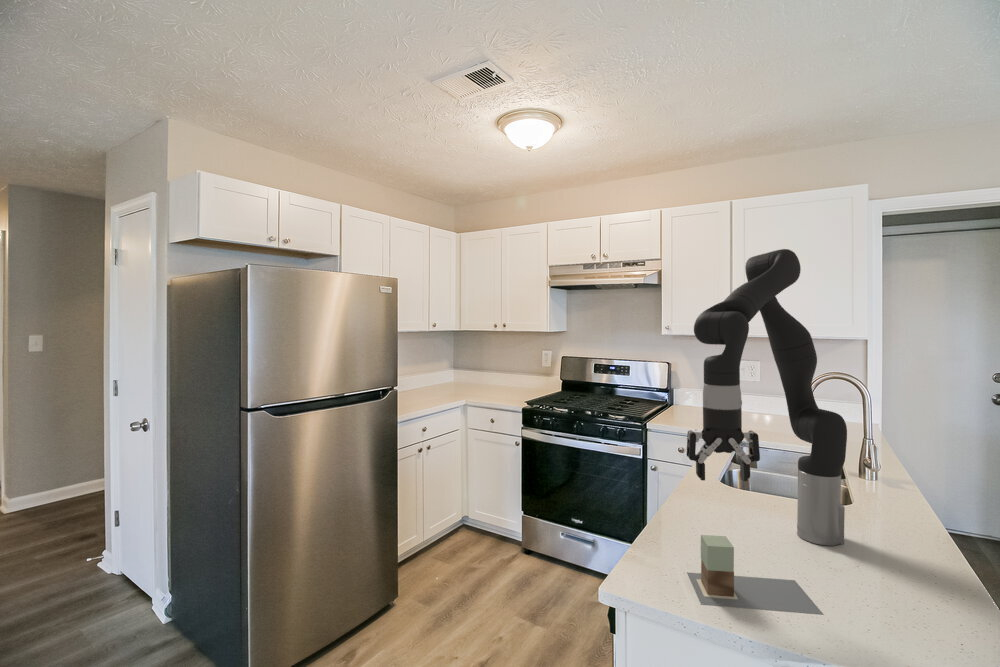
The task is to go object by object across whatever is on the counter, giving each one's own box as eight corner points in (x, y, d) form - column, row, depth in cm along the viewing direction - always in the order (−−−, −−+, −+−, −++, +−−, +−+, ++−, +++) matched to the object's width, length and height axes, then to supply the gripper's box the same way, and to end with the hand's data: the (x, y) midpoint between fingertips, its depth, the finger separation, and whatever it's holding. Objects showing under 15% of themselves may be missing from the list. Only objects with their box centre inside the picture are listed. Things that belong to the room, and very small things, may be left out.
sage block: (725, 559, 101) (725, 536, 100) (733, 572, 96) (733, 547, 95) (700, 558, 101) (700, 534, 101) (707, 570, 96) (707, 545, 96)
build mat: (794, 582, 102) (794, 579, 102) (823, 617, 90) (823, 613, 90) (686, 575, 105) (686, 571, 105) (701, 607, 93) (701, 603, 93)
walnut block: (726, 583, 101) (726, 559, 100) (733, 596, 96) (734, 572, 96) (701, 581, 101) (701, 558, 101) (707, 594, 96) (707, 570, 96)
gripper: (750, 401, 105) (751, 474, 105) (682, 401, 107) (684, 473, 107) (764, 408, 97) (765, 486, 98) (691, 408, 99) (692, 485, 100)
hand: (722, 479), depth 103 cm, fingers open, 8 cm apart
